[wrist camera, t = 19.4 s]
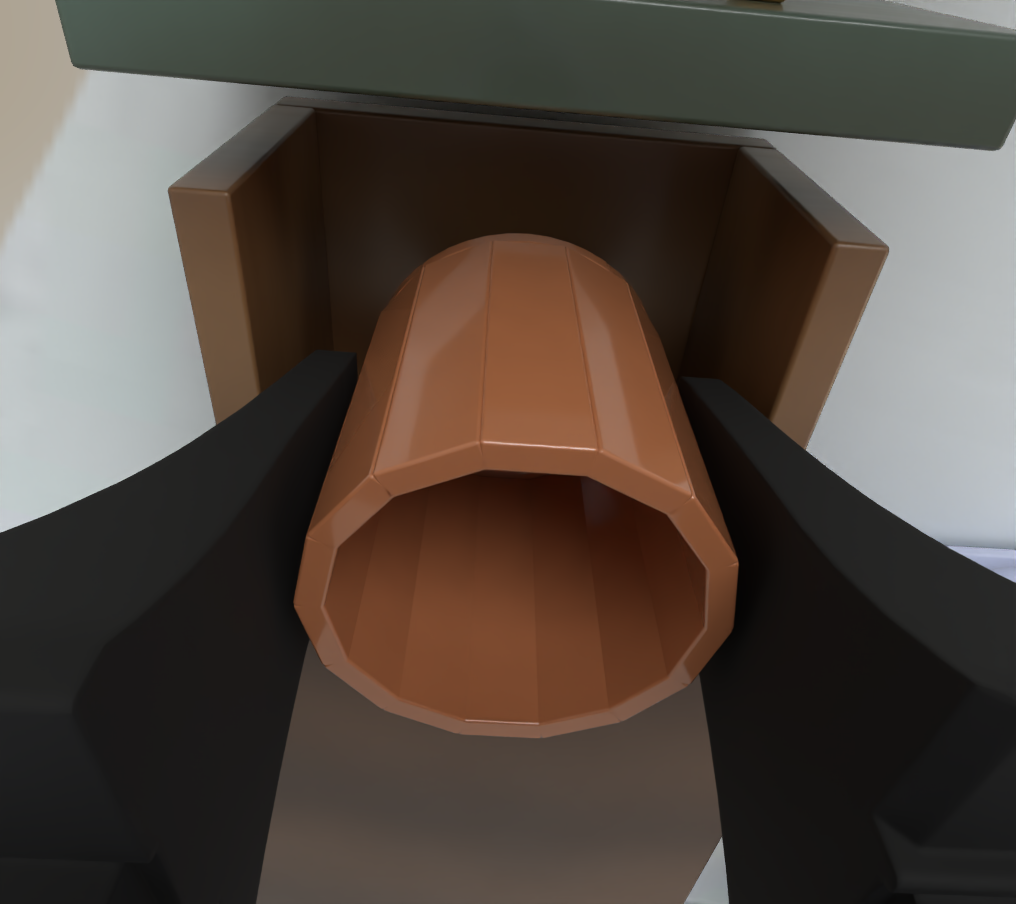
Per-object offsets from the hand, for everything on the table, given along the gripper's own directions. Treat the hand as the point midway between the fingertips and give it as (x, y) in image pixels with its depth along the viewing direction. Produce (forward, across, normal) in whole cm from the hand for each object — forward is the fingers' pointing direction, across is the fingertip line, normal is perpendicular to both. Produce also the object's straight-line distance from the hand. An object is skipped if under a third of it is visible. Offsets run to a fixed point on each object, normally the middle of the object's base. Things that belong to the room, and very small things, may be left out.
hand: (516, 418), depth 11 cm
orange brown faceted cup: (+1, 0, 0) cm, 1 cm away
